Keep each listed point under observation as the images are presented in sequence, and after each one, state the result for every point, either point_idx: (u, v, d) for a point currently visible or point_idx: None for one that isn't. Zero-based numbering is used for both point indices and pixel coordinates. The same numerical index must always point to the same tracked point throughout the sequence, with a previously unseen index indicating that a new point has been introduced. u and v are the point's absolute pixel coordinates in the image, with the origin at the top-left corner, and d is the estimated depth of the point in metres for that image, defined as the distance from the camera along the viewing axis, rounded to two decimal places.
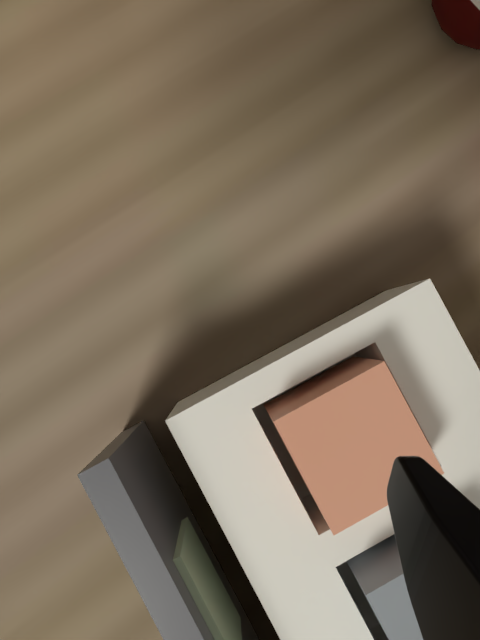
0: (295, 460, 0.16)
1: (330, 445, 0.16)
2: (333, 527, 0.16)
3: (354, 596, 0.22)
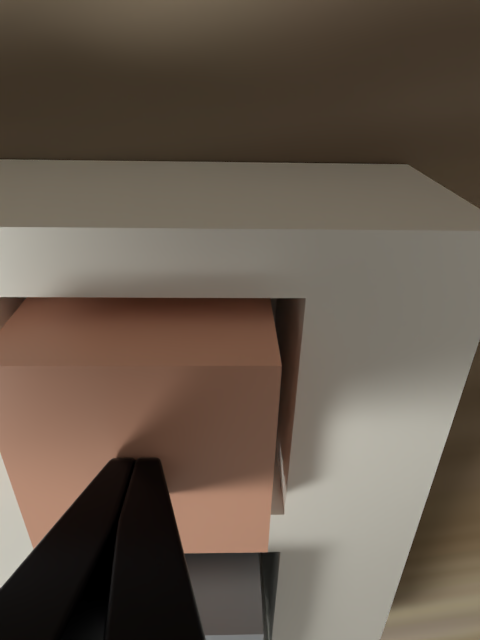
0: (0, 445, 0.08)
1: (85, 449, 0.08)
2: None
3: None
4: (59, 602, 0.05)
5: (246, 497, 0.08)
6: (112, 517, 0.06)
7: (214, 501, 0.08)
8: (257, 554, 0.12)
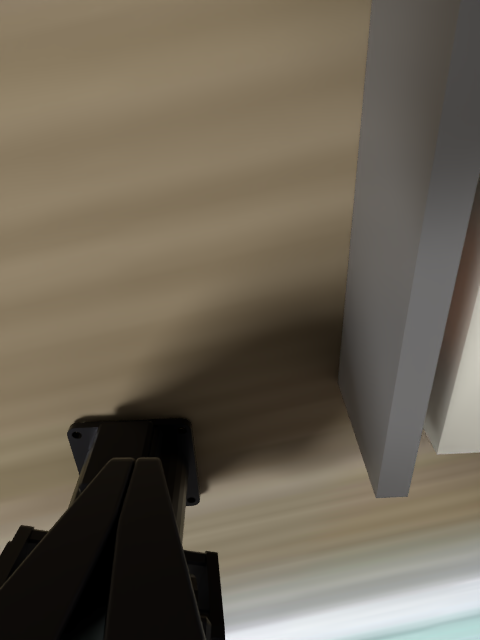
0: None
1: None
2: None
3: None
4: (59, 602, 0.05)
5: None
6: (112, 517, 0.06)
7: None
8: None
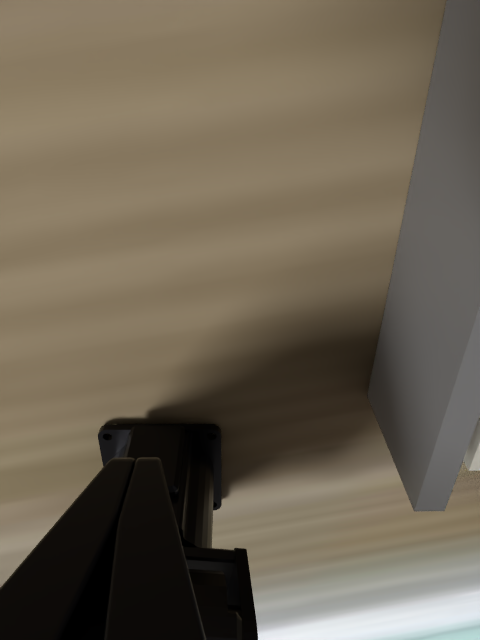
0: None
1: None
2: None
3: None
4: (59, 602, 0.05)
5: None
6: (112, 517, 0.06)
7: None
8: None
